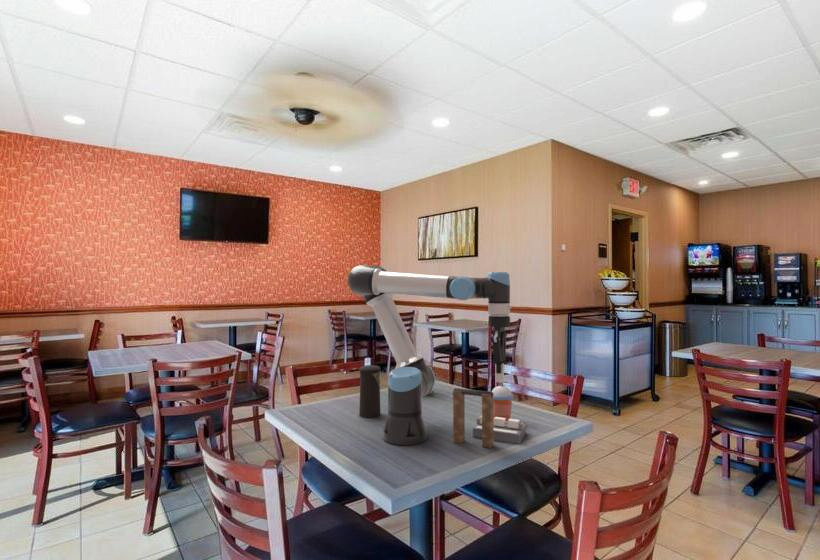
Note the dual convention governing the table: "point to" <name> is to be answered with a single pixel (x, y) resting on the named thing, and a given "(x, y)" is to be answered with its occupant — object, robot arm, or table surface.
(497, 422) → the breaker paddles
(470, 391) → the dark grey rod
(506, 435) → the breaker panel
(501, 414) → the cup with straw
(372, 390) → the container
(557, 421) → the table surface
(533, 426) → the table surface
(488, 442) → the posts
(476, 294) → the robot arm
